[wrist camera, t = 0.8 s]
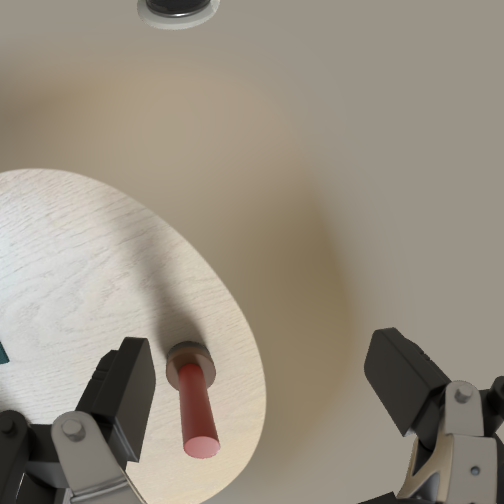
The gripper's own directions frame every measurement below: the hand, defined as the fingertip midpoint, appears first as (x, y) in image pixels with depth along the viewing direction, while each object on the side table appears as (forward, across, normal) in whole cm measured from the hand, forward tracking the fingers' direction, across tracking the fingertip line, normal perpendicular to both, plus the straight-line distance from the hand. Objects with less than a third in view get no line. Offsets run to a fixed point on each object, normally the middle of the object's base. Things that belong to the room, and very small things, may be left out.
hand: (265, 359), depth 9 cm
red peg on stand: (+18, +5, +14) cm, 23 cm away
